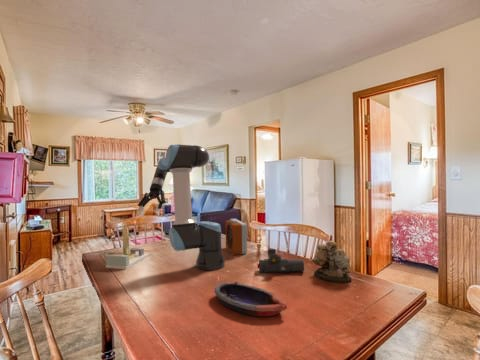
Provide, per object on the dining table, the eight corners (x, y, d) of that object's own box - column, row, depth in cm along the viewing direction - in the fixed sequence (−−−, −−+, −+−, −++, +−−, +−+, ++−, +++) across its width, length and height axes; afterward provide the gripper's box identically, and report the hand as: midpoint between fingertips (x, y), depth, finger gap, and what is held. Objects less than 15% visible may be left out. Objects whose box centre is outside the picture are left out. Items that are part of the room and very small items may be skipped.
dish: (230, 288, 116) (230, 276, 116) (295, 310, 96) (295, 297, 96) (204, 301, 104) (203, 288, 104) (271, 330, 84) (271, 314, 84)
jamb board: (131, 255, 165) (130, 244, 165) (149, 256, 162) (148, 245, 162) (106, 267, 143) (105, 255, 143) (126, 269, 141) (126, 256, 141)
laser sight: (305, 275, 130) (305, 254, 130) (258, 275, 130) (258, 255, 130) (300, 268, 140) (300, 248, 140) (256, 268, 140) (256, 249, 139)
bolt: (130, 256, 157) (130, 225, 157) (135, 256, 156) (135, 225, 156) (117, 263, 145) (116, 229, 145) (122, 263, 144) (121, 229, 144)
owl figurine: (307, 277, 127) (307, 240, 127) (317, 270, 137) (316, 236, 137) (347, 286, 117) (347, 246, 116) (354, 277, 126) (354, 241, 126)
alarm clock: (225, 247, 180) (225, 216, 179) (238, 246, 182) (237, 216, 182) (233, 255, 162) (232, 221, 162) (247, 254, 165) (246, 220, 164)
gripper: (175, 186, 177) (168, 215, 165) (145, 191, 186) (136, 219, 174) (169, 179, 172) (160, 209, 160) (138, 185, 181) (128, 214, 169)
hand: (148, 214), depth 167 cm, fingers open, 13 cm apart
